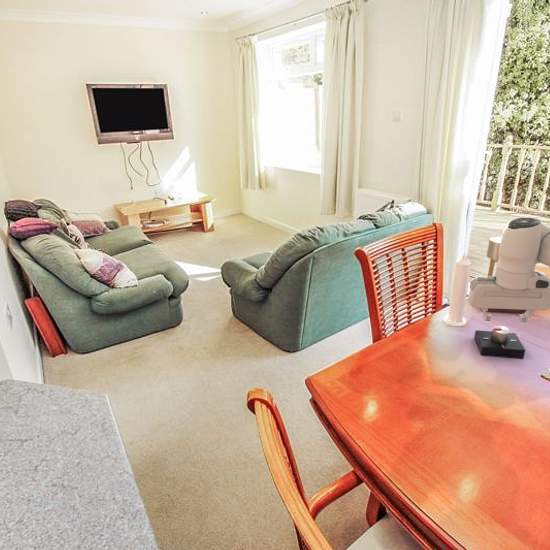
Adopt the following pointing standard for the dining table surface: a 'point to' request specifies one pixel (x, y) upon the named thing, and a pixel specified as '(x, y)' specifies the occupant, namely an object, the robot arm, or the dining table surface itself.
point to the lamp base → (506, 311)
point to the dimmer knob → (500, 334)
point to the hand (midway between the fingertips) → (504, 320)
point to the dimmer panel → (499, 345)
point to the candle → (459, 293)
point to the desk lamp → (493, 253)
